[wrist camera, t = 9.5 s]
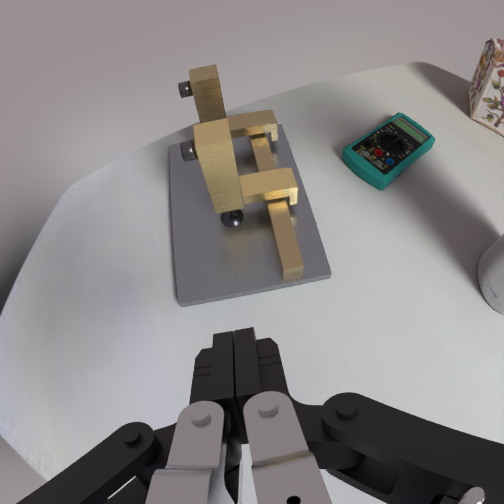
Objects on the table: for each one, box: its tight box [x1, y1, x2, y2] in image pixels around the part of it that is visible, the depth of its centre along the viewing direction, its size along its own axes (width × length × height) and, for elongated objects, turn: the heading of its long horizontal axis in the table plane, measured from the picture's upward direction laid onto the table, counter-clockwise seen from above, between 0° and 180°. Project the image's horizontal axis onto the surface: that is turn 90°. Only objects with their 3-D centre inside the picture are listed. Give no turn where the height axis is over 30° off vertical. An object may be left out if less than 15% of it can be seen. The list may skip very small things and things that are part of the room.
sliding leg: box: [180, 118, 298, 214], centre depth 31 cm, size 10×3×12 cm, turn 100°
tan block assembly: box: [178, 65, 304, 279], centre depth 32 cm, size 10×22×12 cm, turn 10°
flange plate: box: [170, 124, 331, 307], centre depth 38 cm, size 16×23×1 cm
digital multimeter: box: [342, 113, 435, 190], centre depth 40 cm, size 7×15×3 cm, turn 128°
